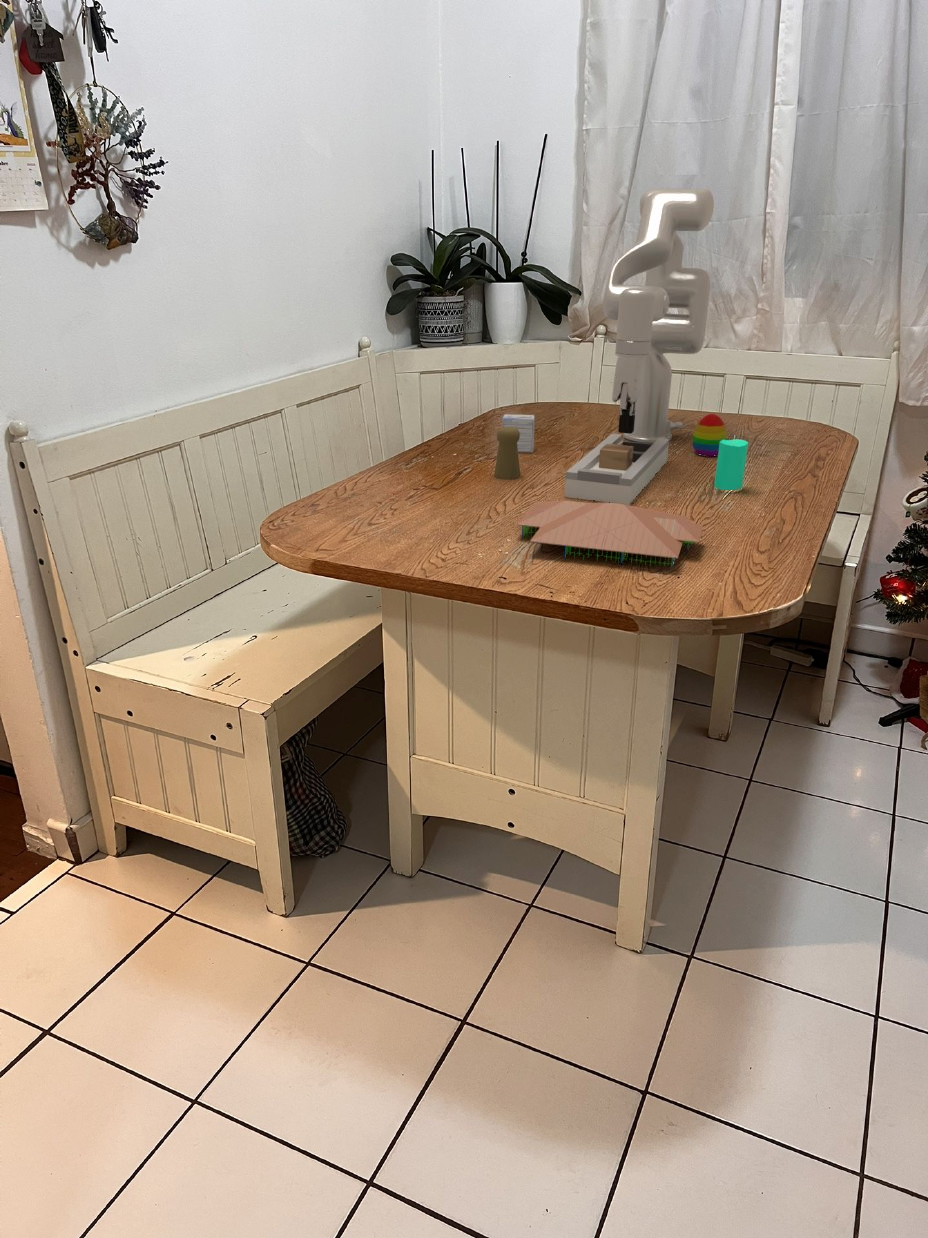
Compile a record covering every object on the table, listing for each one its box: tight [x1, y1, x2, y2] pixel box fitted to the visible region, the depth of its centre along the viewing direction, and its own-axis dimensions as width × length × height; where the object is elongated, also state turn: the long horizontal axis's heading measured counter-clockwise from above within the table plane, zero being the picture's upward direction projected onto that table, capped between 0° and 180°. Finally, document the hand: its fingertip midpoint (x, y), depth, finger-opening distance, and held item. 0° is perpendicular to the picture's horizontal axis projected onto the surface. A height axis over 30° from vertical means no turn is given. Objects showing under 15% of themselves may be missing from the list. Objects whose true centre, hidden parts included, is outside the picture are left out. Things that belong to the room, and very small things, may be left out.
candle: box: [713, 434, 749, 490], centre depth 201 cm, size 6×6×12 cm
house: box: [516, 500, 704, 568], centre depth 170 cm, size 23×33×8 cm
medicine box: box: [501, 413, 536, 454], centre depth 231 cm, size 8×4×9 cm, turn 84°
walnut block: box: [599, 444, 633, 471], centre depth 204 cm, size 6×6×4 cm
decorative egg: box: [692, 413, 728, 456], centre depth 229 cm, size 8×8×10 cm
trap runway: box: [564, 433, 670, 506], centre depth 209 cm, size 38×14×6 cm, turn 157°
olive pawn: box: [493, 427, 521, 480], centre depth 209 cm, size 6×6×11 cm
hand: (625, 432), depth 209 cm, fingers closed
